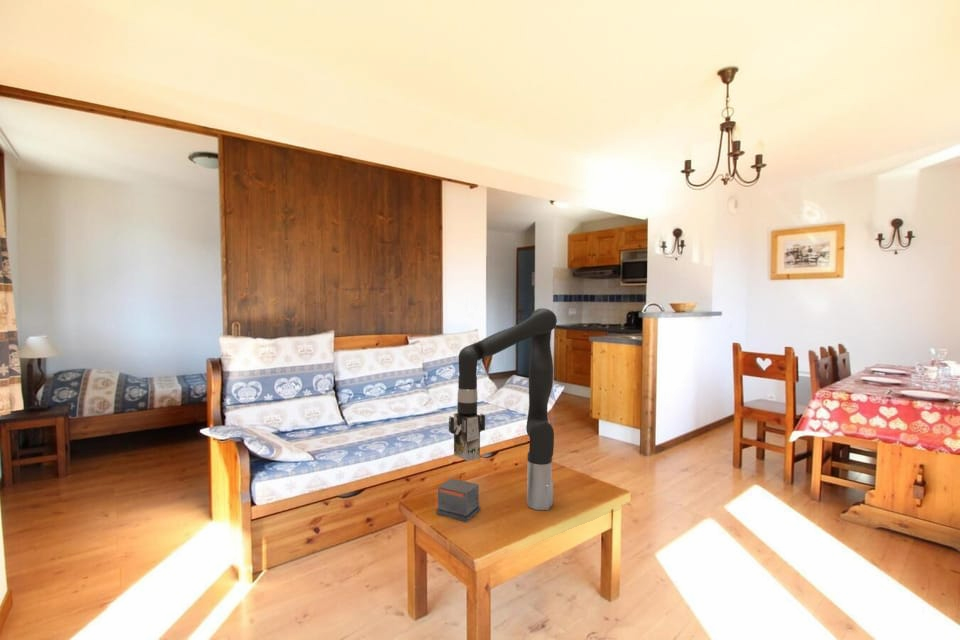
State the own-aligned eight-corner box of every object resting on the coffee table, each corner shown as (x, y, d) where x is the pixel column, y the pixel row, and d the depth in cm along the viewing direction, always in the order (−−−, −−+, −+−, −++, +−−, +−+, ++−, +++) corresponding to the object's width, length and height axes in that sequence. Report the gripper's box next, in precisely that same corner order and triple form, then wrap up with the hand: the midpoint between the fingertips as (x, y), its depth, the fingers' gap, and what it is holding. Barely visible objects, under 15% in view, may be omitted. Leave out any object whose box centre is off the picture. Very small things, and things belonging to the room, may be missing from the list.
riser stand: (480, 510, 167) (480, 484, 167) (466, 522, 158) (467, 494, 158) (450, 503, 173) (450, 477, 173) (436, 513, 164) (436, 486, 164)
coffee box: (480, 458, 169) (481, 415, 169) (466, 461, 165) (467, 418, 165) (466, 451, 177) (467, 410, 176) (453, 454, 173) (453, 413, 172)
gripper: (481, 396, 176) (480, 438, 177) (446, 399, 171) (445, 441, 172) (488, 400, 169) (488, 443, 170) (452, 403, 164) (451, 447, 165)
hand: (466, 442), depth 171 cm, fingers closed on coffee box, 7 cm apart
